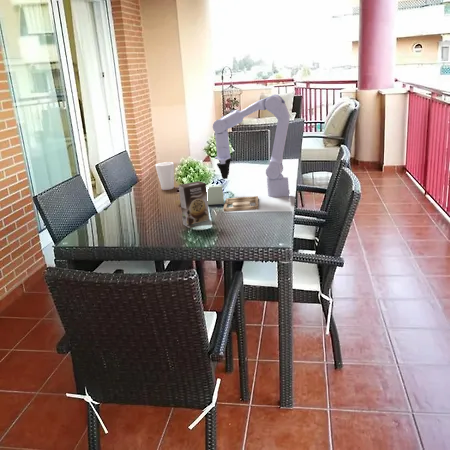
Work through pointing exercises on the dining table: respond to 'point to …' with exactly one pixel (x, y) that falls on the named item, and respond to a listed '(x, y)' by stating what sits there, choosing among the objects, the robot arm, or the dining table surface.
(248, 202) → the offcut upper
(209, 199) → the pale green slab
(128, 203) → the dining table surface
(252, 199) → the rack
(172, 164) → the foam cup
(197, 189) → the brown cookie box
